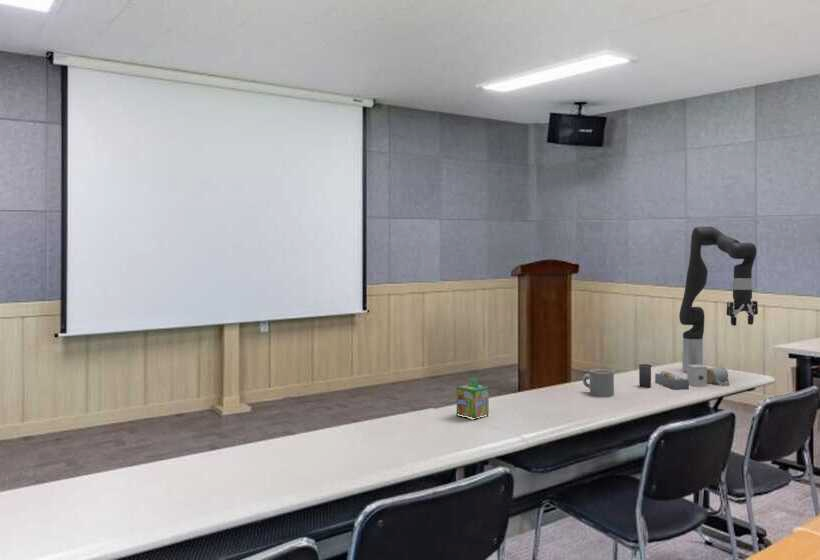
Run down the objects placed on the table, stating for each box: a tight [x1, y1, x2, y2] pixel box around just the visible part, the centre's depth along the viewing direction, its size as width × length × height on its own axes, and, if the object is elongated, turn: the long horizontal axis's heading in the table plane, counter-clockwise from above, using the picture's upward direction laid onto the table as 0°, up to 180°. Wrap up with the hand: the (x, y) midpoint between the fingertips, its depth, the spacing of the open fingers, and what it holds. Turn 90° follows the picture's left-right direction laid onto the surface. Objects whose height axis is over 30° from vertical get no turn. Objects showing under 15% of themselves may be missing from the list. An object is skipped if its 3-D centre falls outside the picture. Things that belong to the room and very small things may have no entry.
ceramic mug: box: [707, 365, 730, 386], centre depth 292 cm, size 11×8×8 cm
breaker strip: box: [654, 370, 690, 391], centre depth 289 cm, size 17×7×6 cm, turn 6°
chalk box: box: [456, 376, 490, 418], centre depth 241 cm, size 9×9×15 cm
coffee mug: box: [582, 368, 615, 398], centre depth 276 cm, size 13×10×10 cm
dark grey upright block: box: [638, 363, 652, 389], centre depth 287 cm, size 5×5×10 cm
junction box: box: [686, 364, 708, 387], centre depth 290 cm, size 7×6×9 cm
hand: (742, 324), depth 277 cm, fingers open, 8 cm apart
